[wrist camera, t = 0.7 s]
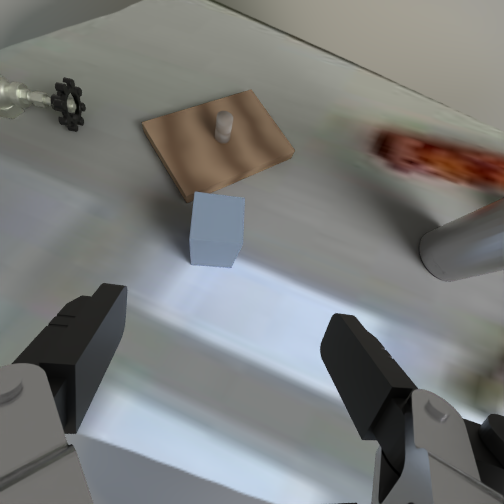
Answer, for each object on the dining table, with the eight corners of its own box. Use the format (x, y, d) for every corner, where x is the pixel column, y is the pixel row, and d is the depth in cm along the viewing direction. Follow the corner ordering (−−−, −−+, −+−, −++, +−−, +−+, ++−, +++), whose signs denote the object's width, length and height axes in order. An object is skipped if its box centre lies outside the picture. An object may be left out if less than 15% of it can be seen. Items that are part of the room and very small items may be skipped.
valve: (-16, 124, 37) (77, 141, 39) (-58, 81, 31) (55, 104, 33) (2, 89, 39) (90, 108, 41) (-34, 43, 33) (71, 67, 35)
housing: (194, 227, 38) (194, 191, 29) (233, 231, 39) (244, 198, 30) (190, 264, 36) (189, 238, 27) (231, 267, 37) (243, 244, 28)
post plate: (249, 99, 48) (256, 67, 42) (291, 158, 46) (304, 133, 40) (144, 132, 41) (136, 99, 36) (186, 203, 39) (185, 180, 33)
